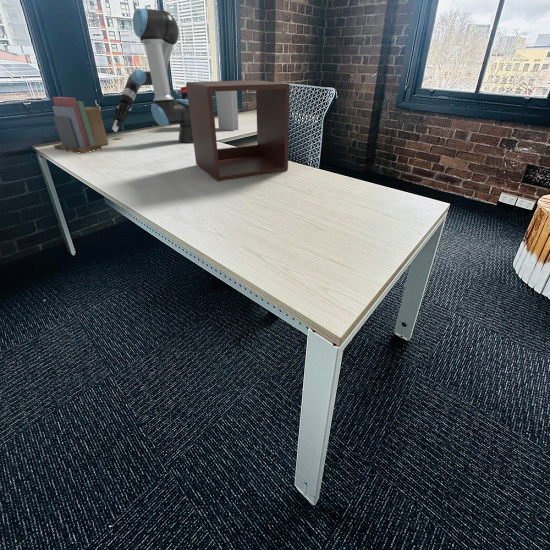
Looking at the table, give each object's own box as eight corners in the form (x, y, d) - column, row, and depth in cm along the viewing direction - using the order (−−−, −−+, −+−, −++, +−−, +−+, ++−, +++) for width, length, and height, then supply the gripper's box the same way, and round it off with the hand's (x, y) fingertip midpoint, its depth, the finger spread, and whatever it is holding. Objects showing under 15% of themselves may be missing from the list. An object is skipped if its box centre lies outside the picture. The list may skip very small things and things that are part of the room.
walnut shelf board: (101, 148, 190) (100, 145, 189) (83, 153, 181) (82, 149, 180) (73, 145, 199) (72, 141, 198) (54, 149, 190) (53, 145, 189)
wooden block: (93, 147, 192) (82, 109, 181) (84, 145, 198) (73, 108, 187) (109, 145, 199) (99, 108, 188) (101, 142, 204) (91, 106, 193)
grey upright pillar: (238, 129, 241) (236, 82, 225) (234, 130, 237) (231, 82, 221) (223, 127, 248) (220, 81, 231) (218, 129, 244) (214, 81, 227)
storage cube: (216, 181, 140) (206, 86, 121) (196, 165, 161) (185, 82, 142) (287, 170, 153) (289, 83, 134) (260, 157, 175) (259, 80, 156)
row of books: (95, 144, 190) (81, 97, 177) (79, 148, 183) (63, 99, 169) (77, 142, 196) (62, 96, 183) (61, 145, 188) (44, 98, 175)
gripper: (139, 102, 212) (126, 135, 208) (124, 101, 217) (111, 133, 213) (131, 93, 205) (117, 127, 201) (115, 93, 210) (101, 125, 206)
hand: (114, 130), depth 207 cm, fingers closed
